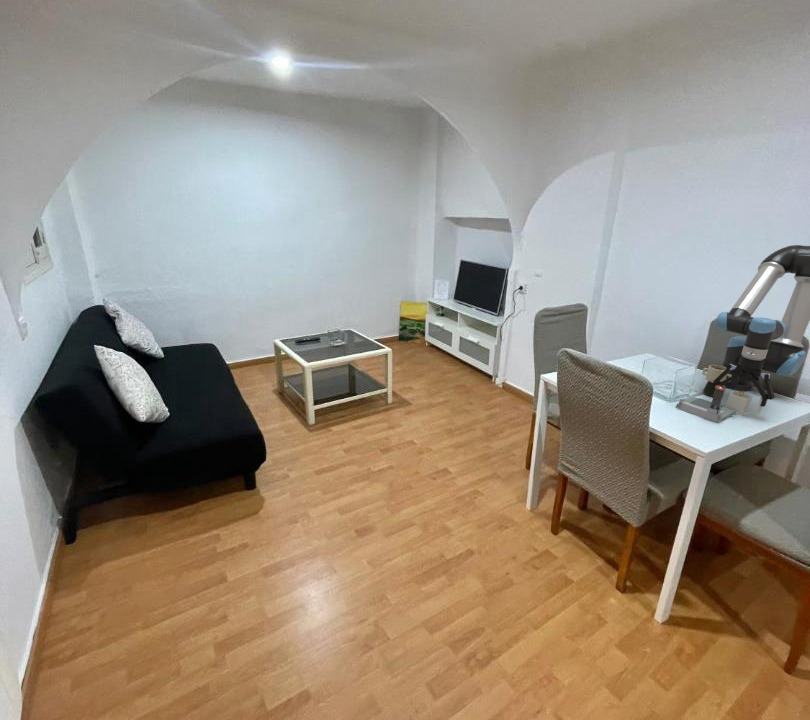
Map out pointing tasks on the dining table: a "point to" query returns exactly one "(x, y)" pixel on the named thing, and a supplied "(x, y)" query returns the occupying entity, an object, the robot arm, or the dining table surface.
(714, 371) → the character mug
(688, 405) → the base plate
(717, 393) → the lever
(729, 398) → the housing
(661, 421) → the dining table surface
